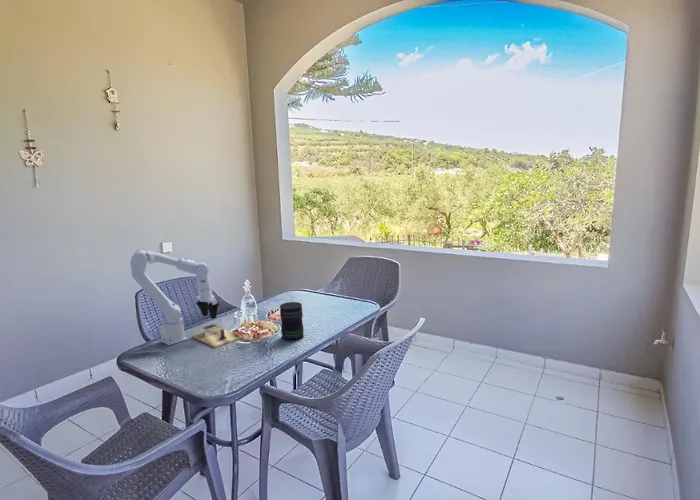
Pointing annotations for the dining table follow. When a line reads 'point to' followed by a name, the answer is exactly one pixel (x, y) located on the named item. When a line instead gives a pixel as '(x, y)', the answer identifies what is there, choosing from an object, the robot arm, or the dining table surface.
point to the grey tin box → (209, 329)
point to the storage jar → (291, 321)
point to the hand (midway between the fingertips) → (209, 316)
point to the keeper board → (216, 338)
